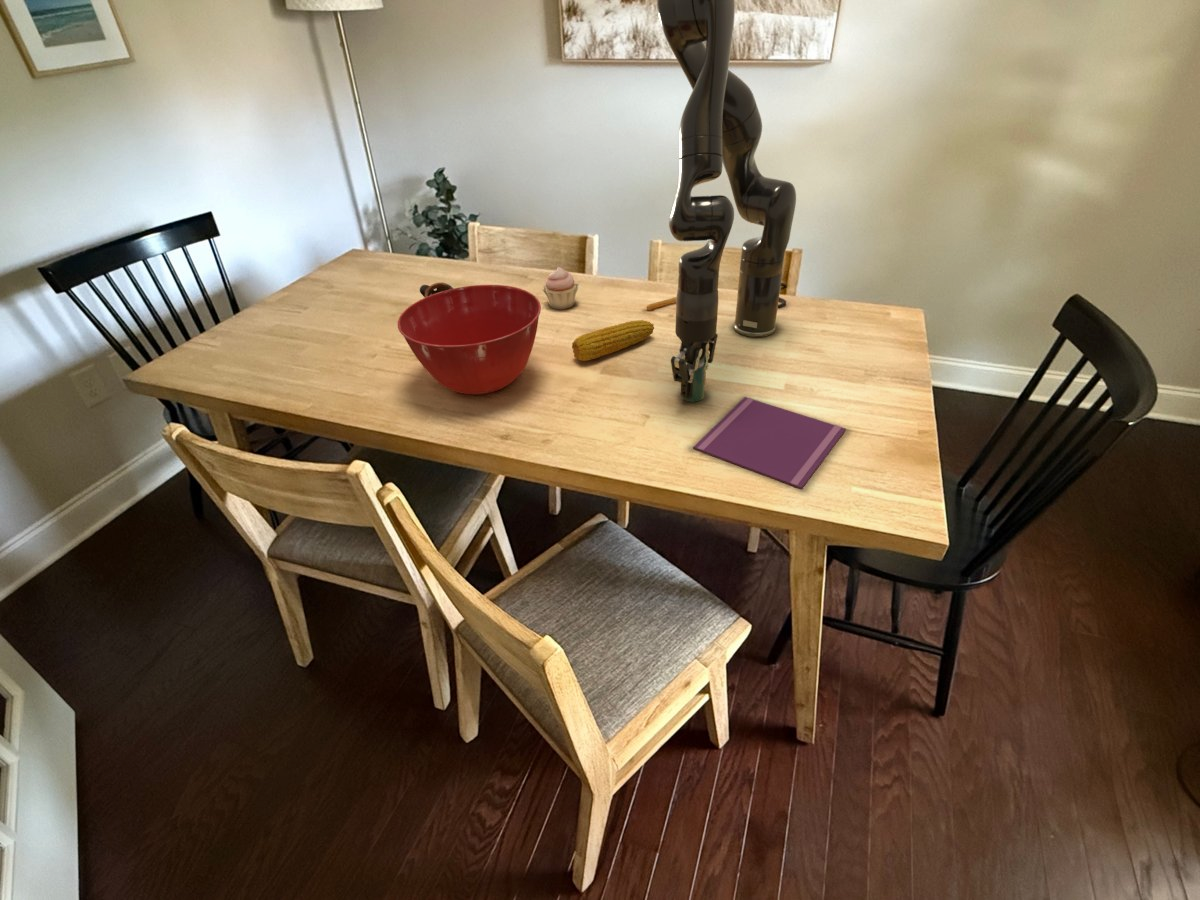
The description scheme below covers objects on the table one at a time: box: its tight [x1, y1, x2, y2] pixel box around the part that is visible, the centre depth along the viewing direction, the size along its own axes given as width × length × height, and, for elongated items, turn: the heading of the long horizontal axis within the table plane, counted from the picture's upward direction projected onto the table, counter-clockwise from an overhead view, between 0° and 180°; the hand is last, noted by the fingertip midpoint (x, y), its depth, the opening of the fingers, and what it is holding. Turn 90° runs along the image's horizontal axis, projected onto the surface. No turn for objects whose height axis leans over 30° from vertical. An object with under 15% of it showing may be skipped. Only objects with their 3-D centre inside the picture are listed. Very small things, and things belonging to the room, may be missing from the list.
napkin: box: [692, 396, 847, 490], centre depth 114 cm, size 20×20×1 cm
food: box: [571, 319, 655, 362], centre depth 143 cm, size 21×6×6 cm, turn 126°
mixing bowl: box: [397, 284, 542, 396], centre depth 132 cm, size 28×28×15 cm
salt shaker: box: [681, 358, 707, 403], centre depth 124 cm, size 4×4×8 cm
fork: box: [645, 296, 677, 311], centre depth 164 cm, size 2×2×20 cm
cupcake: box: [542, 266, 579, 310], centre depth 163 cm, size 9×9×10 cm
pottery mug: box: [419, 282, 454, 298], centre depth 165 cm, size 12×9×8 cm
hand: (692, 391), depth 126 cm, fingers closed on salt shaker, 4 cm apart
